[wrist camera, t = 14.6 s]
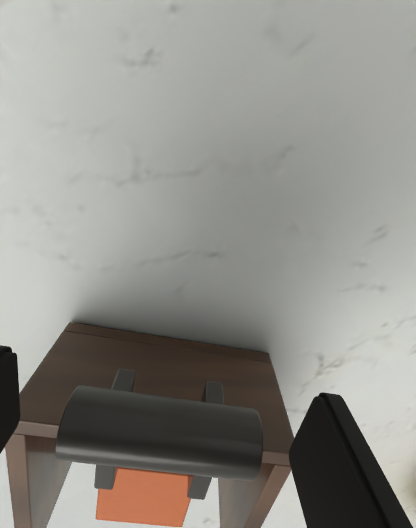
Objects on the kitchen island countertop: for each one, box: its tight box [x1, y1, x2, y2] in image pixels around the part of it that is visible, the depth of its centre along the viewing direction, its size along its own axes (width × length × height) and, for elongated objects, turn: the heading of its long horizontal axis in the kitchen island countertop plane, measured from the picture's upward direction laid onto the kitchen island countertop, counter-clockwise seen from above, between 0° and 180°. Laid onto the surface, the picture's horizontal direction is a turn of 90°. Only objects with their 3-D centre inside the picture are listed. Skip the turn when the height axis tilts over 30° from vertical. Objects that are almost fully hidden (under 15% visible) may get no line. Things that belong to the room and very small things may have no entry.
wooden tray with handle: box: [5, 322, 294, 528], centre depth 14 cm, size 15×12×9 cm
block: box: [96, 467, 191, 527], centre depth 16 cm, size 4×4×4 cm
